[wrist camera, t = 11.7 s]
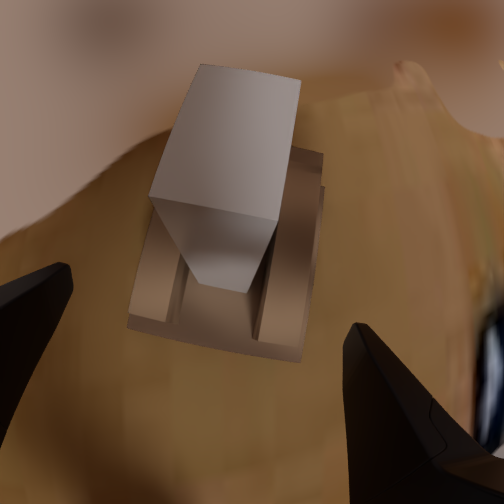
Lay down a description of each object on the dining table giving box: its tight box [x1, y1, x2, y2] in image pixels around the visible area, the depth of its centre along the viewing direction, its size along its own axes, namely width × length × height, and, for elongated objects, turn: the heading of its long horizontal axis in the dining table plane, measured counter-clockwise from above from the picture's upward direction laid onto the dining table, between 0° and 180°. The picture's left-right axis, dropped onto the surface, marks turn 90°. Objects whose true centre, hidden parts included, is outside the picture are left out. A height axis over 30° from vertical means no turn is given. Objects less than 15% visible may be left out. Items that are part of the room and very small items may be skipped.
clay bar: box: [148, 64, 301, 293], centre depth 14 cm, size 4×3×13 cm, turn 169°
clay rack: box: [127, 146, 325, 363], centre depth 19 cm, size 12×11×6 cm
